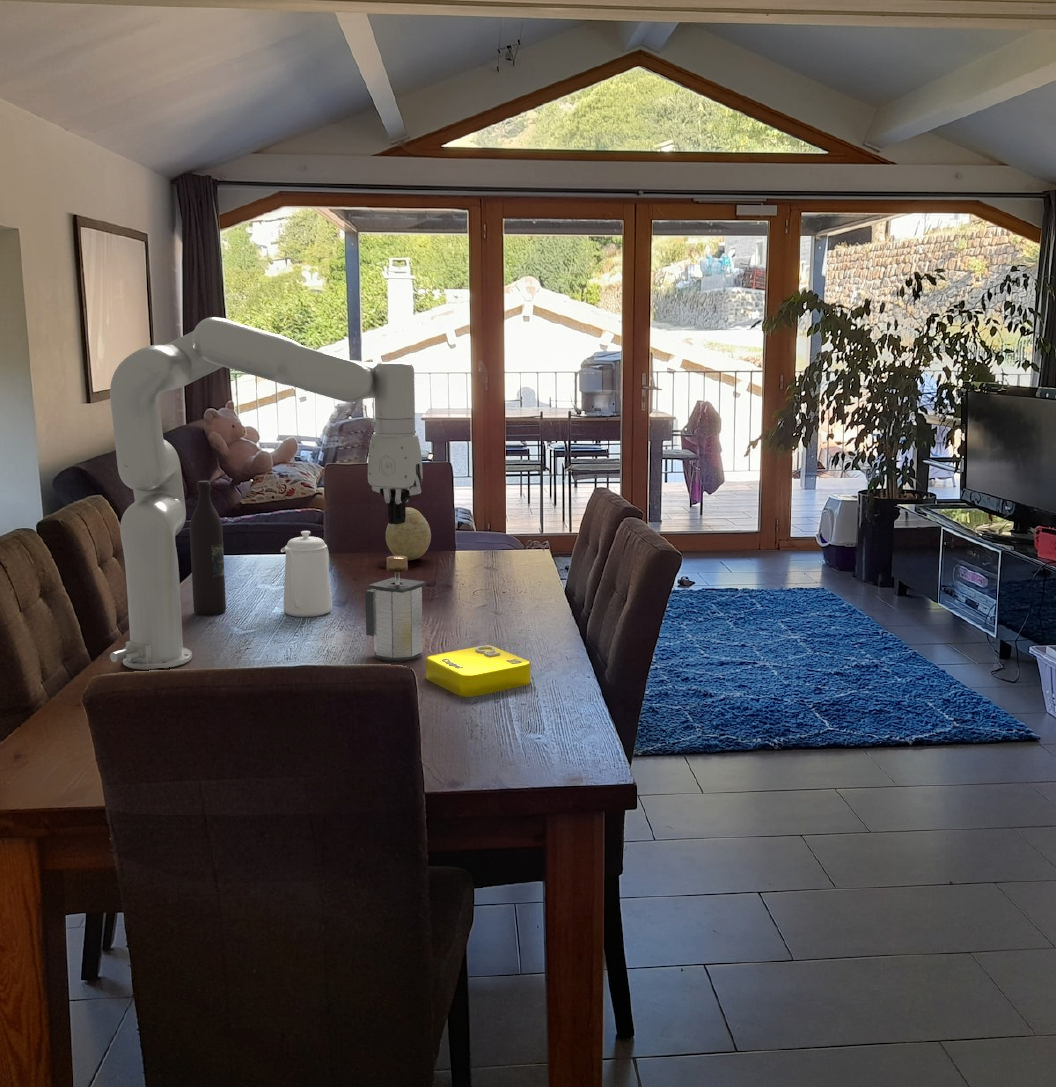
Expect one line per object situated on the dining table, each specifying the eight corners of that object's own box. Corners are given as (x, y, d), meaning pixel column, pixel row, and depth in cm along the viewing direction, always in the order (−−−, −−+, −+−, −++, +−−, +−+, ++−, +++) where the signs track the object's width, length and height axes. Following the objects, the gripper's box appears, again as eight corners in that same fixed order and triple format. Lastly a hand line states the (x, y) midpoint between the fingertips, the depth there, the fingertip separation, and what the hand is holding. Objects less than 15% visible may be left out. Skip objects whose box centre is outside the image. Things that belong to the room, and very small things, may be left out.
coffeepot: (260, 625, 235) (257, 540, 232) (306, 598, 260) (304, 521, 256) (307, 627, 233) (305, 542, 230) (349, 601, 257) (347, 523, 254)
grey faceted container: (404, 665, 207) (403, 590, 204) (355, 656, 212) (353, 583, 210) (430, 653, 215) (430, 581, 212) (383, 645, 220) (382, 575, 218)
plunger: (402, 636, 208) (401, 562, 205) (374, 631, 211) (372, 558, 208) (421, 628, 213) (420, 556, 211) (394, 624, 217) (393, 553, 214)
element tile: (421, 678, 200) (421, 653, 199) (489, 665, 209) (489, 641, 208) (465, 700, 188) (465, 674, 187) (535, 685, 197) (535, 660, 196)
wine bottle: (216, 617, 242) (210, 483, 236) (187, 615, 243) (181, 482, 238) (231, 609, 249) (225, 479, 243) (203, 608, 250) (197, 478, 244)
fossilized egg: (414, 553, 316) (414, 502, 313) (439, 560, 306) (439, 508, 303) (377, 558, 308) (376, 506, 305) (402, 566, 298) (401, 512, 296)
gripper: (351, 427, 205) (353, 523, 209) (416, 430, 198) (418, 529, 201) (375, 424, 212) (377, 517, 215) (439, 428, 205) (440, 523, 208)
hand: (397, 523), depth 208 cm, fingers closed
